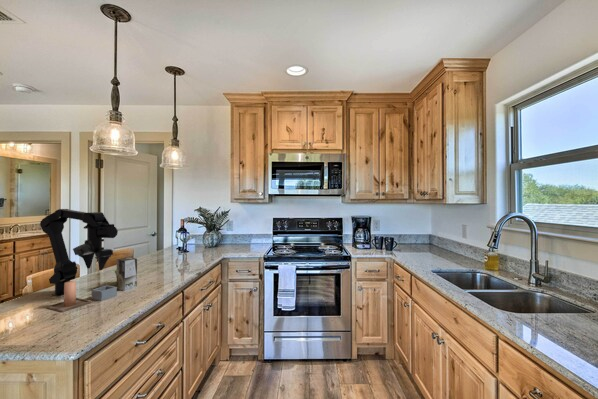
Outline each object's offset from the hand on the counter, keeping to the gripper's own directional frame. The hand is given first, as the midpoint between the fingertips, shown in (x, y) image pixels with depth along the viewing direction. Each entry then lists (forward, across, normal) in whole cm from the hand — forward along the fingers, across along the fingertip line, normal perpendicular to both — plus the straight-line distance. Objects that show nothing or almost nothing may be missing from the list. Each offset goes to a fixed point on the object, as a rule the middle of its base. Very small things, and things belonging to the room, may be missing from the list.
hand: (94, 269), depth 132 cm
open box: (+13, +9, -1) cm, 16 cm away
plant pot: (+13, -4, +18) cm, 23 cm away
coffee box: (+13, +5, +13) cm, 19 cm away
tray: (+13, +5, -13) cm, 19 cm away
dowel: (+12, +5, -13) cm, 18 cm away
